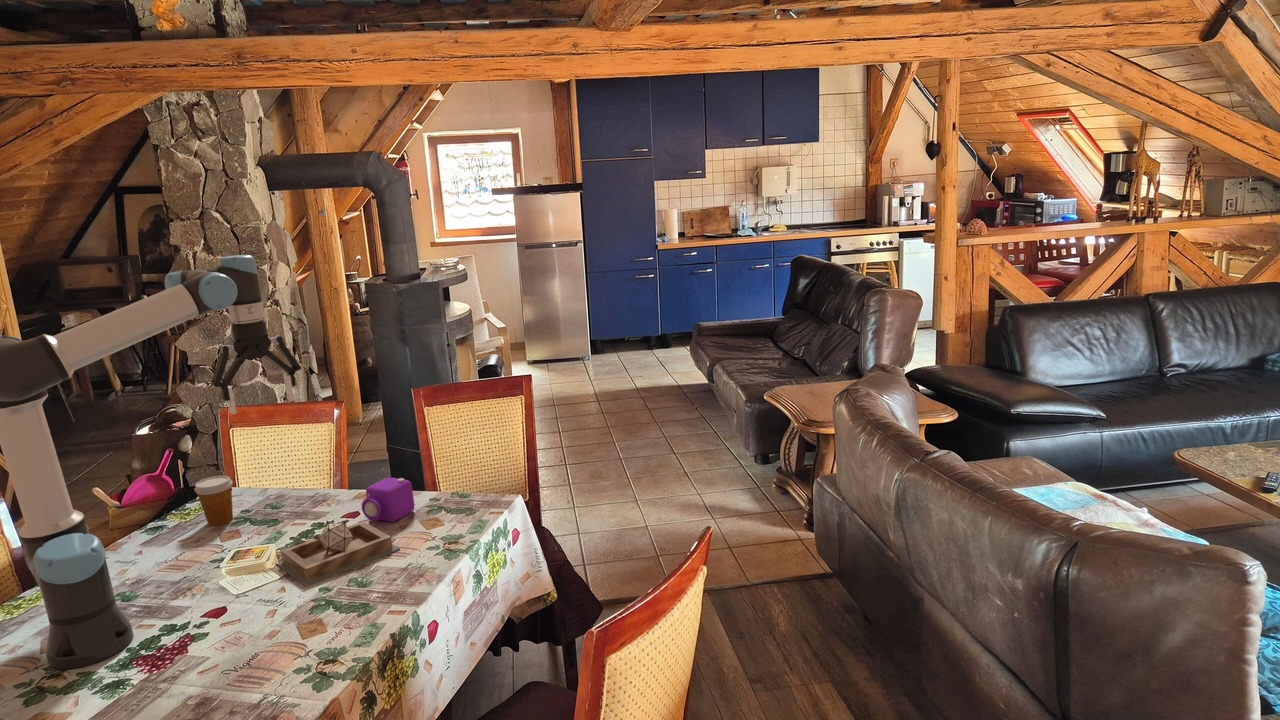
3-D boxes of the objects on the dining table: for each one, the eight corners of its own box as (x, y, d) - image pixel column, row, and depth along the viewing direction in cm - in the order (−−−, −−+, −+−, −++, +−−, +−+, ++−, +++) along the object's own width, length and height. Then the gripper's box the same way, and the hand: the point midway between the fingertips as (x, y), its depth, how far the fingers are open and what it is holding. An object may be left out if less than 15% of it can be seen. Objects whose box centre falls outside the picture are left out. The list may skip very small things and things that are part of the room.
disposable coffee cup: (202, 519, 239) (194, 479, 236) (239, 511, 242) (231, 472, 240) (201, 531, 230) (192, 490, 227) (239, 523, 234) (231, 483, 231)
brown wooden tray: (308, 582, 197) (305, 569, 196) (283, 563, 208) (280, 550, 207) (392, 549, 211) (390, 536, 210) (365, 533, 222) (363, 521, 221)
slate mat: (305, 586, 195) (305, 585, 195) (275, 563, 208) (275, 562, 208) (400, 549, 211) (399, 548, 211) (366, 530, 224) (366, 529, 224)
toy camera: (357, 527, 227) (351, 492, 224) (386, 506, 239) (381, 473, 237) (392, 529, 223) (387, 494, 221) (419, 508, 236) (415, 475, 234)
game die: (348, 563, 212) (368, 528, 212) (330, 567, 203) (352, 531, 204) (320, 544, 213) (340, 509, 214) (302, 547, 205) (323, 511, 205)
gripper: (195, 331, 190) (212, 421, 195) (306, 313, 206) (319, 397, 211) (186, 328, 195) (203, 415, 200) (295, 310, 211) (307, 392, 216)
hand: (262, 406), depth 205 cm, fingers open, 13 cm apart
